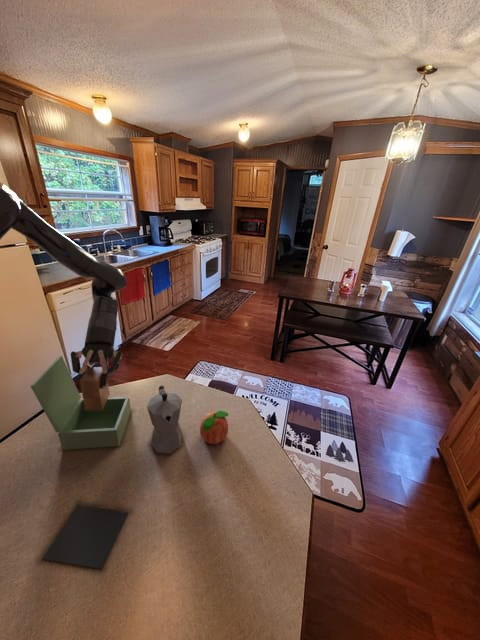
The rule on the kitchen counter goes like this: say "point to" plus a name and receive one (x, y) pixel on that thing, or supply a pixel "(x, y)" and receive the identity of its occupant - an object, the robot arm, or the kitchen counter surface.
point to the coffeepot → (165, 421)
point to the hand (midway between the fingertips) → (92, 388)
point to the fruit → (214, 427)
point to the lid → (56, 393)
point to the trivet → (87, 537)
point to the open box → (96, 425)
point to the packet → (93, 389)
